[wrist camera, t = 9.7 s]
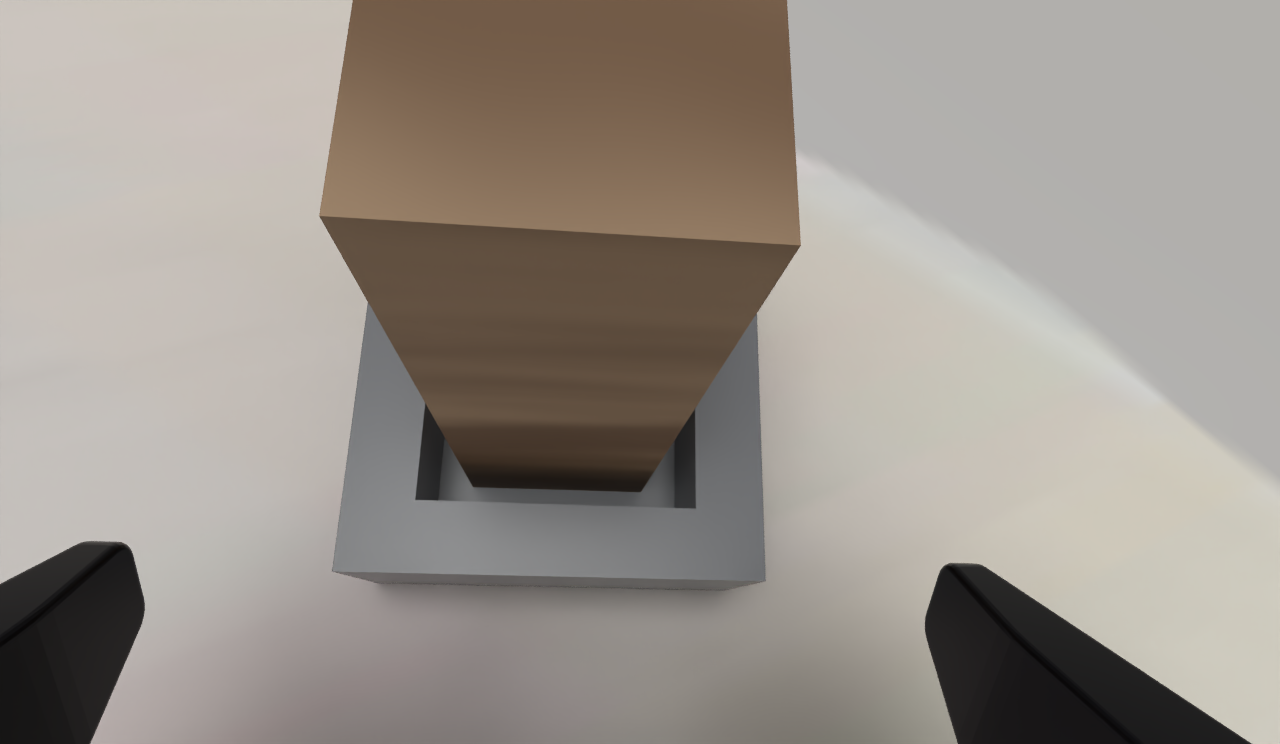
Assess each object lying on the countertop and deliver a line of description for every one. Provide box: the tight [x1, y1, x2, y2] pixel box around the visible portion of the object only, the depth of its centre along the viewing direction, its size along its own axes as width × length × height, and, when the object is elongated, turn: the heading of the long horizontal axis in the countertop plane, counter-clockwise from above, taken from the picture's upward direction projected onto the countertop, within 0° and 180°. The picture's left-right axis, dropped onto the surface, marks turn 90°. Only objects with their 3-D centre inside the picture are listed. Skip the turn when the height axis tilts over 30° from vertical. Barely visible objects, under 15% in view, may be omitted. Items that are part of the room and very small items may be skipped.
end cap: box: [332, 303, 766, 590], centre depth 19 cm, size 8×8×4 cm
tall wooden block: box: [319, 0, 801, 492], centre depth 13 cm, size 4×4×13 cm
